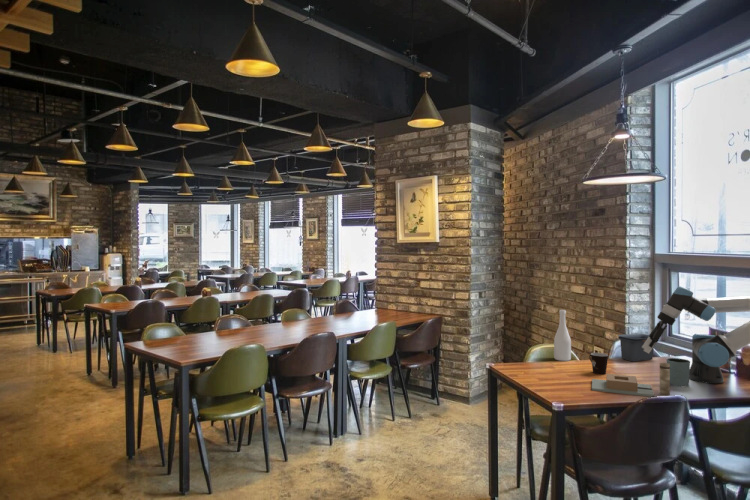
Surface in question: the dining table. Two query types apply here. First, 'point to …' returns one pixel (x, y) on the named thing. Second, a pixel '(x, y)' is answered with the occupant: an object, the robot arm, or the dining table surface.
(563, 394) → the dining table surface
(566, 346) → the wine bottle
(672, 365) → the grey-green tapered pot
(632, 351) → the storage bin
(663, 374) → the round peg
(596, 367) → the coffee mug
